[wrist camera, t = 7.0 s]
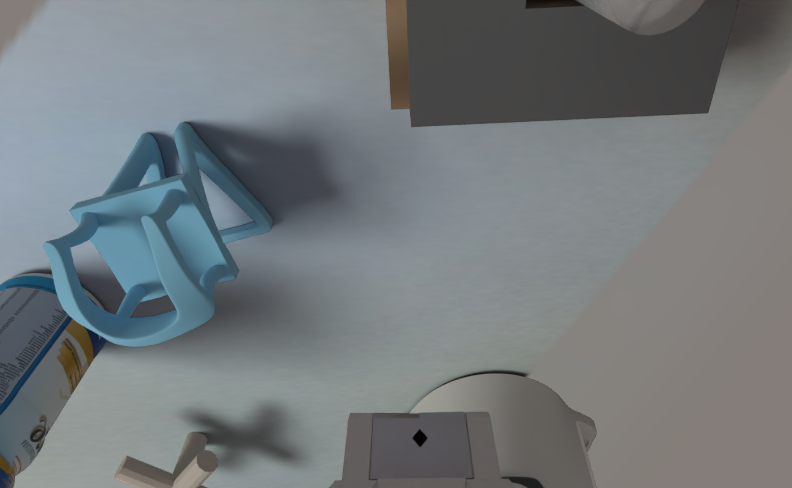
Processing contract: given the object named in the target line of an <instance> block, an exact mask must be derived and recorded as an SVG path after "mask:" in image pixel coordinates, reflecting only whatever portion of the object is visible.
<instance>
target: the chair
mask: <svg viewBox="0 0 792 488" xmlns="http://www.w3.org/2000/svg"><path fill="white" fill-rule="evenodd" d="M174 139H175V143H176V147H177V150H178V154H179V158H180V162H181V166H182V170H183V174H179V175H176V176H172V177H168V178H166V176H165V171H164V165H163V161H162V157H161V153H160V150H159V147H158V144H157V142H156V140H155V138H154V137H153V136H152V135H150V134H148V133H144V134H142V135H141V137H140V138H139V140H138V141H137V143H136V145H135V147H134V148H133V150H132V151H131V153H130V155H129V156H128V158H127V160H126V161H125V163H124V164H123V166H122V168H121V169H120V171H119V172H118V174H117V175H116V177H115V178H114V180H113V181H112V183H111V184H110V186H109V187H108V189H107V190H106V191H105V193H104V194H103V195H102V196H100V197H96V198H93V199H89V200H86V201H82V202H78V203H76V204H75V205H74V206H73V207H72V208H71V209H70V210H69V212H70V213H71V215H72V216H73V218H74V219H75V220H76V222H77V223H78V225H79V226H78V228H76V229H75V230H74V231H73V232H71V233H69V234H67V235H65V236H63V237H61V238H59V239H55V240H51V241H47V242H45V243H43V248H44V250H45V252H46V255H47V257H48V259H49V262H50V265H51V270H52V274H53V279H54V284H55V288H56V292H57V296H58V299H59V301H60V303H61V305H62V307H63V309H64V310H65V311H66V313H67V314H68V315H69V316H70V317H71V318H73V319H74V320H75V321H76V322H78V323H79V324H81V325H82V326H84V327H86V328H88V329H90V330H91V331H93V332H95V333H97V334H98V335H100V336H102V337H103V338H105V339H107V340H108V341H110V342H112V343H114V344H118V345H123V346H132V347H140V346H149V345H154V344H158V343H161V342H164V341H167V340H170V339H172V338H175V337H177V336H179V335H182V334H184V333H186V332H188V331H190V330H192V329H194V328H196V327H198V326H200V325H202V324H204V323H206V322H207V321H209V320H210V319H211V318H212V317H213V315H214V313H215V306H214V296H213V289H214V286H215V284H217V283H221V282H226V281H230V280H234V279H236V277H237V274H238V272H239V269H238V267H237V265H236V263H235V261H234V260H233V258H232V256H231V254H230V252H229V251H228V249H227V247H226V246H225V244H224V243H228V242H232V241H236V240H240V239H243V238H247V237H251V236H255V235H259V234H263V233H267V232H269V231H270V230H271V227H272V224H273V220H272V218H271V216H270V215H269V213H268V212H267V211H266V210H265V208H264V207H263V206H262V205H261V204H260V203H259V202H258V201H257V199H256V198H255V197H254V196H253V195H252V194H251V193H250V192H249V191H248V190H247V189H246V188H245V187H244V186H243V185H242V183H241V182H240V181H239V180H238V179H237V178H236V177H235V176H234V175H233V174H232V173H231V172H230V171H229V170H228V169H227V168H226V167H225V166H224V165H223V163H222V162H221V161H220V160H219V159H218V158H217V157H216V156H215V155H214V154H213V153H212V152H211V150H210V149H209V148H208V147H207V146H206V145H205V143H204V142H203V141H202V140H201V139H200V137H199V136H198V135H197V133H196V132H195V131H194V130H193V128H192V127H191V126H190V125H189V124H187V123H185V122H184V123H180V124H179V125H178V127H177V128H176V130H175V132H174ZM198 167H199V168H200V169H201V170H202V171H203V172H204V173H205V174H206V175H207V176H208V177H209V178H210V179H211V180H212V181H213V182H215V183H216V184H217V185H218V186H219V187H220V188H221V189H222V190H223V191H224V192H225V193H226V194H227V195H228V196H229V197H230V198H231V199H232V200H233V201H234V202H235V203H237V204H238V205H239V206H240V207H241V208H242V209H243V210H244V211H245V212H246V213H247V214H248V215H249V216H250V217H251V218H252V219H253V220H254V221H255V222H253V223H249V224H245V225H242V226H238V227H234V228H230V229H226V230H222V231H218V229H217V227H216V224H215V222H214V219H213V217H212V214H211V211H210V208H209V205H208V202H207V198H206V195H205V191H204V187H203V184H202V180H201V176H200V172H199V169H198ZM144 175H146V180H147V184H146V185H143V186H140V187H138V186H139V184H140V182H141V180H142V179H143V177H144ZM89 239H90V241H91V242H92V243H93V245H94V246H95V247H96V248H97V250H98V251H99V253H100V254H101V255H102V257H103V258H104V260H105V261H106V263H107V264H108V266H109V267H110V268H111V270H112V272H113V273H114V275H115V277H116V278H117V280H118V281H119V283H120V285H121V286H122V288H123V289H124V291H125V292H126V296H125V297H124V299H123V301H122V303H121V305H120V307H119V309H118V311H117V313H116V315H115V314H112V313H109V312H107V311H105V310H103V309H101V308H99V307H98V306H96V305H95V304H94V303H93V302H92V301H91V300H90V299H89V298H88V296H87V295H86V293H85V292H84V290H83V288H82V286H81V284H80V282H79V279H78V277H77V274H76V270H75V267H74V264H73V259H72V255H71V250H70V247H73V246H76V245H79V244H81V243H83V242H85V241H87V240H89ZM166 295H169V297H170V299H171V301H172V302H173V304H174V306H175V308H176V310H173V311H170V312H166V313H163V314H159V315H154V316H149V317H142V318H130V316H131V315H132V313H133V312H134V310H135V309H136V307H137V306H138V304H139V303H140V302H143V301H148V300H152V299H155V298H159V297H162V296H166Z"/></svg>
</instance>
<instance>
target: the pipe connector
mask: <svg viewBox="0 0 792 488" xmlns="http://www.w3.org/2000/svg"><path fill="white" fill-rule="evenodd" d="M206 443H207V438H206V436H205V435H203V434H201V433H198V432H192V433H189V434H188V435H187V437H186V440H185V442H184V445H183V448H182V450H181V453H180V456H179V458H178V461H177V464H176V466H175V469H174V472H173V474H172V473H169V472H167V471H164V470H162V469H159V468H157V467H154V466H152V465H149V464H147V463H144V462H142V461H139V460H137V459H134V458H132V457H129V456H126V457H125V458H124V459H123V461H122V462H121V464H120V466H119V468H118V470H117V471H116V474H115V476H114V479H116V480H118V481H121V482H124V483H126V484H129V485H131V486H134V487H137V488H207V487H204V486H202V485H201V484H202V483H203V482H204V481H205V480H206V479H207V478H208V477H209V476H210V475H211V474H212V473H213V472H214V470H215V469H216V468H217V466H218V459H217V457H216V455H215V454H214V453H213V452H211V451H207V450H204V449H205V446H206Z"/></svg>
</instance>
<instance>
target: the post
mask: <svg viewBox="0 0 792 488" xmlns="http://www.w3.org/2000/svg"><path fill="white" fill-rule="evenodd" d="M576 1H578V2H580V3H581V4H583V5H585V6H587V7H588V8H590V9H592V10H593V11H595V12H597V13H599V14H600V15H602V16H604V17H606V18H607V19H609V20H611V21H613V22H614V23H616V24H618V25H619V26H621V27H623V28H625V29H626V30H628V31H630V32H633V33H636V34H640V35H656V34H661V33H664V32H667V31H670V30H672V29H674V28H676V27H678V26H679V25H681V24H682V23H684V22H685V21H686V20H688V19H689V18H690V17H691V16H692V15H693V14H694V13H695V12H696V11H697V10H698V9H699V7H700V6H701V5H702V3H703V2H704V1H705V0H576Z"/></svg>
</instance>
